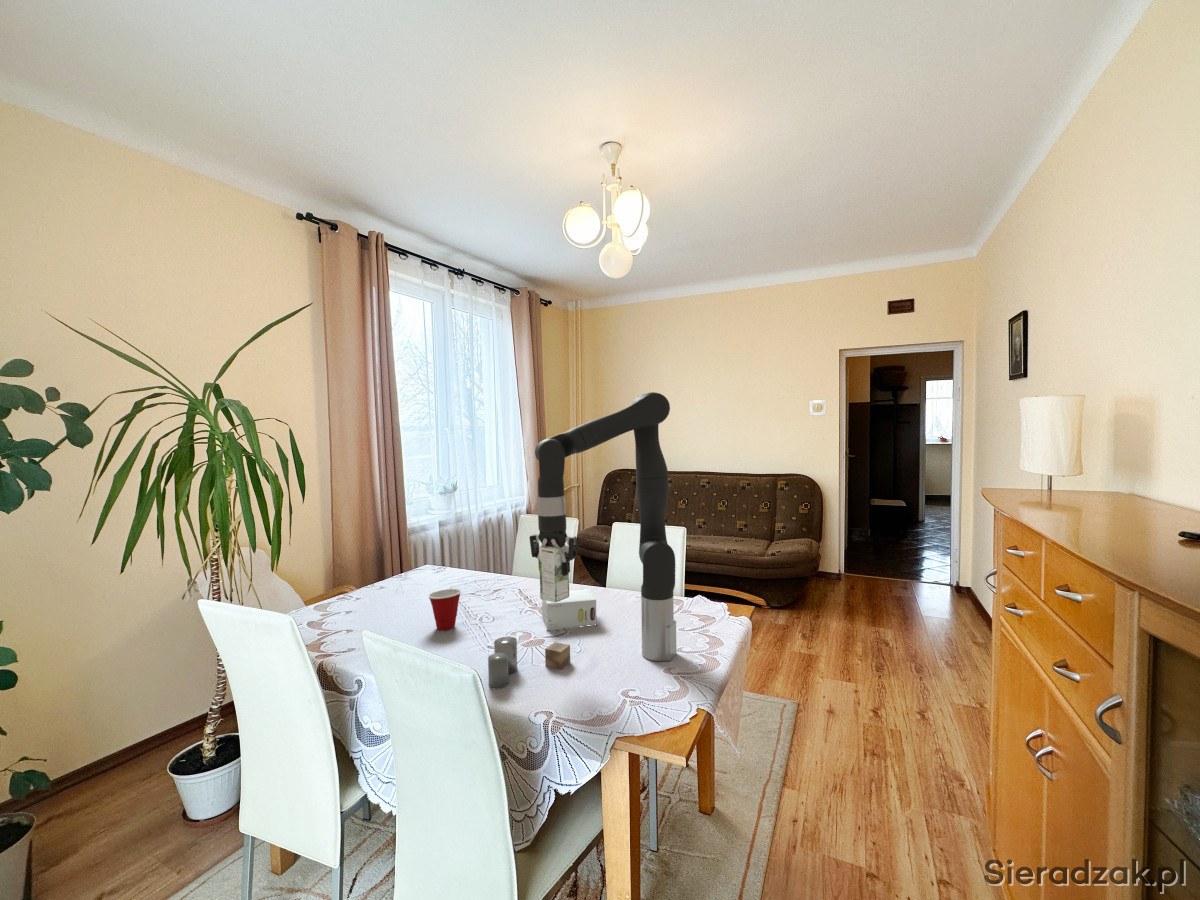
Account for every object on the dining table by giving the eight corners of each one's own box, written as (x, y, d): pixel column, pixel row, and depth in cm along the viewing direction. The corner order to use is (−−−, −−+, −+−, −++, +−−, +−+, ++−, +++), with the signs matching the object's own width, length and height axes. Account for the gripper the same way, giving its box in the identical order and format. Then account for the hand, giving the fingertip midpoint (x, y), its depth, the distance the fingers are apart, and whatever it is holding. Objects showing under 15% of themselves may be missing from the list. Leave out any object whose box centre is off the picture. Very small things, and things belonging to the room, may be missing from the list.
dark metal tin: (521, 667, 138) (521, 638, 138) (508, 677, 133) (507, 647, 133) (504, 663, 141) (503, 635, 141) (490, 672, 136) (489, 643, 136)
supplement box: (547, 631, 164) (546, 603, 164) (542, 617, 177) (541, 591, 177) (597, 626, 168) (596, 598, 168) (588, 613, 181) (588, 587, 181)
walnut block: (570, 662, 141) (569, 645, 141) (561, 670, 137) (560, 652, 137) (555, 659, 143) (554, 642, 143) (545, 666, 139) (545, 648, 139)
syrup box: (554, 593, 141) (552, 542, 140) (570, 597, 137) (568, 544, 137) (540, 599, 136) (537, 546, 136) (555, 603, 133) (553, 548, 132)
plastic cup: (448, 619, 177) (447, 585, 176) (468, 625, 170) (468, 590, 170) (421, 629, 168) (420, 593, 167) (442, 636, 161) (441, 599, 161)
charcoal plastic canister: (512, 681, 131) (511, 654, 130) (500, 690, 126) (499, 662, 126) (497, 677, 133) (496, 651, 133) (484, 686, 128) (484, 659, 128)
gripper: (581, 511, 136) (584, 572, 137) (537, 509, 143) (539, 568, 143) (568, 516, 129) (570, 580, 130) (521, 514, 136) (524, 575, 136)
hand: (554, 573), depth 136 cm, fingers closed on syrup box, 6 cm apart
